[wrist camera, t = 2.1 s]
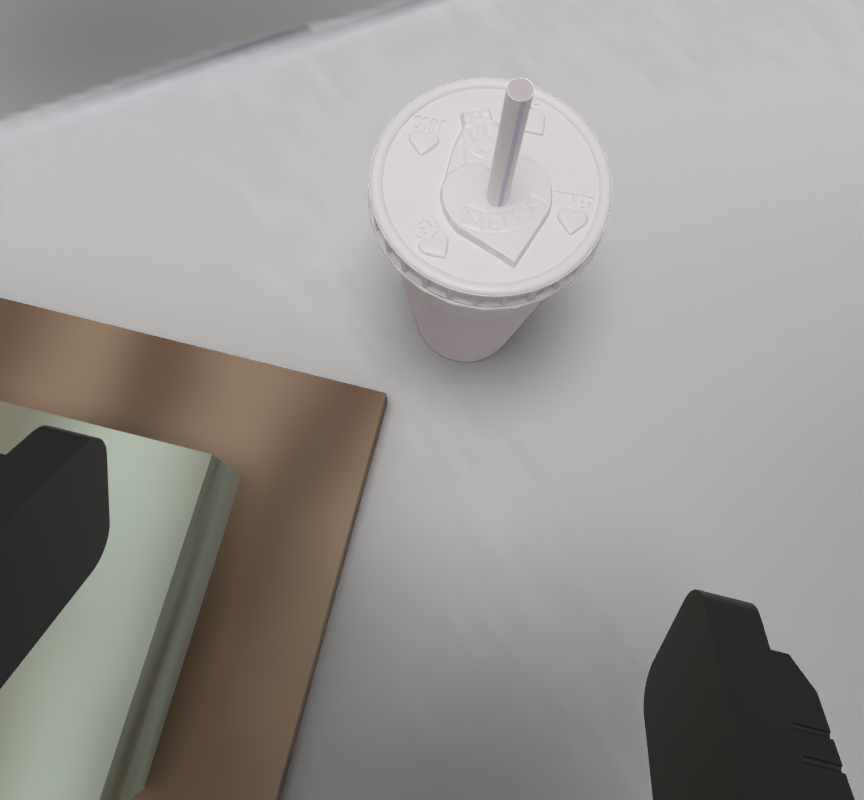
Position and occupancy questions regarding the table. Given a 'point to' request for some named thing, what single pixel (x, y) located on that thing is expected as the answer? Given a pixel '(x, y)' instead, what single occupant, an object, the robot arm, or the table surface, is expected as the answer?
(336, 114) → the table surface
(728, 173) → the table surface
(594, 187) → the smoothie
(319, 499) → the plinth
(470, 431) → the table surface
